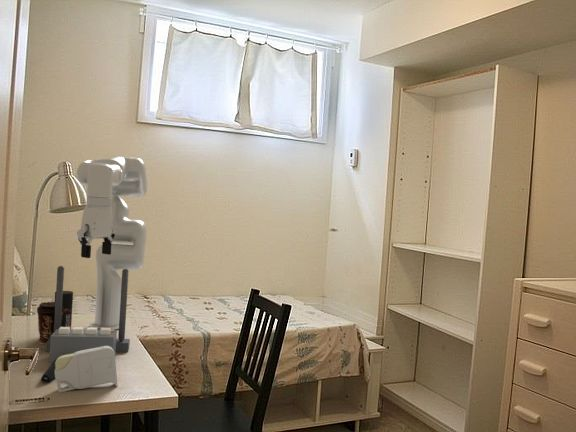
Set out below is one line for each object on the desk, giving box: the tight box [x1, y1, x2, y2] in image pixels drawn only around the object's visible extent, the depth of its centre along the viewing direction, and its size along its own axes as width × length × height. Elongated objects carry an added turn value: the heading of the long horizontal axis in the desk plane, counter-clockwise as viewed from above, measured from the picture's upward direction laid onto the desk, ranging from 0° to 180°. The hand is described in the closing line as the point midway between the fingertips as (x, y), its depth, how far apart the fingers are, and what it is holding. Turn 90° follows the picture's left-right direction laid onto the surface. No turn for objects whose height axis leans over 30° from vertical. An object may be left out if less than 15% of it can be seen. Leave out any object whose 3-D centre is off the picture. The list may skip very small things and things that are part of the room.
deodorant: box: [54, 290, 74, 330], centre depth 191 cm, size 6×6×15 cm
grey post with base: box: [116, 269, 131, 353], centre depth 178 cm, size 5×5×27 cm
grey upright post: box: [45, 265, 65, 352], centre depth 174 cm, size 5×5×27 cm
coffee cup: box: [36, 301, 64, 345], centre depth 181 cm, size 9×8×13 cm
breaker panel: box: [48, 326, 118, 364], centre depth 166 cm, size 8×18×10 cm, turn 101°
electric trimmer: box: [40, 359, 57, 382], centre depth 151 cm, size 4×16×3 cm, turn 7°
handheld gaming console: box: [54, 346, 119, 393], centre depth 142 cm, size 11×3×15 cm
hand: (96, 255), depth 173 cm, fingers open, 9 cm apart
